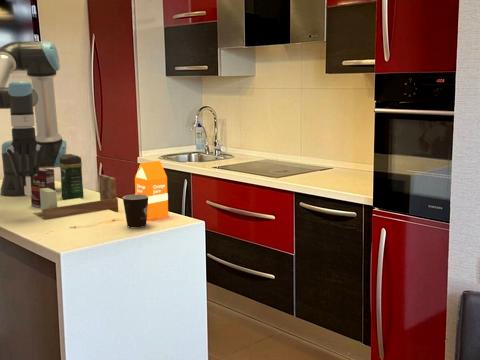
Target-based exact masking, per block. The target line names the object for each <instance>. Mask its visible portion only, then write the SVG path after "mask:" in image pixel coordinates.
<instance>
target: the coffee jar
mask: <svg viewBox="0 0 480 360" xmlns="http://www.w3.org/2000/svg"><path fill="white" fill-rule="evenodd" d="M59 163H60V167H59V168H60V169H59V170H60V187H61V188H60V190H61V191H60V192H61V198H62V199H63V200H65V201H66V200H67V201H69V200H73V199H74V200H76V199H84V185H83V169H82V168H83V165H82V164H83V162H82V157H81V156H78V155H76V154H71V153H66V154H65V155H62V156H61V157H60V162H59Z"/></svg>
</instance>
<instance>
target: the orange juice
mask: <svg viewBox="0 0 480 360" xmlns="http://www.w3.org/2000/svg"><path fill="white" fill-rule="evenodd" d="M134 189H135V190H134V191H135V193H134V194H143V195H148V196H149V197H148V209H147V219H148V220H147V221H151V220H150V219H153V220H155V219H154V218H157V219H160V218H159V217H162V218H165V216H166V217H169V194H168V176H167V173H166V171H165V169H164V166H163V165H162V162H161V160H155V161H154V160H153V161H146V162H140V163H139V167H138V169H137V172H136V173H135V177H134Z"/></svg>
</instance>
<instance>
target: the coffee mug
mask: <svg viewBox="0 0 480 360" xmlns="http://www.w3.org/2000/svg"><path fill="white" fill-rule="evenodd" d="M148 197H149V196H148V195H143V194H135V193H134V194H128V195H124V196H123V197H122V201H123V207H124V215H125V220H126V226H127V227H128V226H129V227H128V228H130V227H140V228H142V227H141V226H144V227H146V226H147V221H148V220H147V209H148ZM145 225H146V226H145Z"/></svg>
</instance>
